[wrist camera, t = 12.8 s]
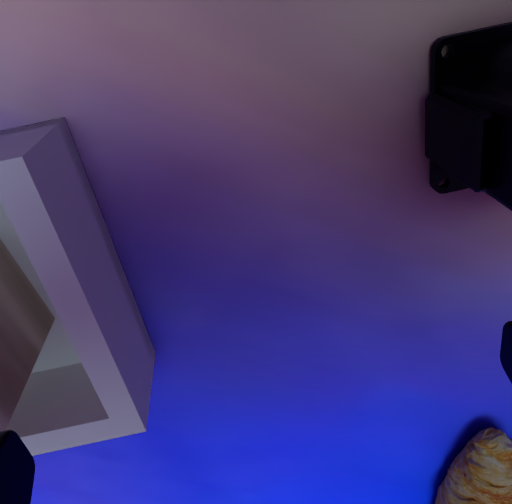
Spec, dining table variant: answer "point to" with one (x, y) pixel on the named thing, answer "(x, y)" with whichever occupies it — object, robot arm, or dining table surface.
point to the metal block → (18, 332)
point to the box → (71, 298)
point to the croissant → (480, 471)
